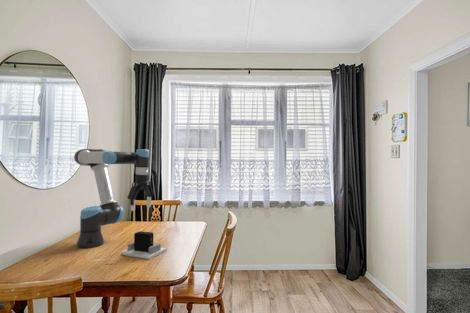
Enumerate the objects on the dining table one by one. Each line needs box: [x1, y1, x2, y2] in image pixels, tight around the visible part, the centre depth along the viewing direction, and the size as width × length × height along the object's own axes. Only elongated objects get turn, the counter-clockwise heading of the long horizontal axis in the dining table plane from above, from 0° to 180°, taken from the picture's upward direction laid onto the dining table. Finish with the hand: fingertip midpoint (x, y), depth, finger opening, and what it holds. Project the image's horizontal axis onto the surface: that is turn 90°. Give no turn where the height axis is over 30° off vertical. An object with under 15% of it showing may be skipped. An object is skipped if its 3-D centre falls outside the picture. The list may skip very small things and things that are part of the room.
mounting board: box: [120, 241, 167, 260], centre depth 159 cm, size 20×15×5 cm
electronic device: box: [133, 230, 154, 252], centre depth 158 cm, size 4×10×10 cm, turn 74°
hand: (141, 208), depth 169 cm, fingers open, 13 cm apart
